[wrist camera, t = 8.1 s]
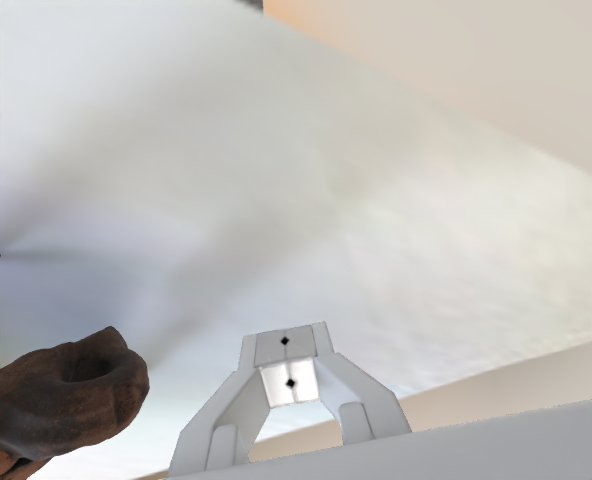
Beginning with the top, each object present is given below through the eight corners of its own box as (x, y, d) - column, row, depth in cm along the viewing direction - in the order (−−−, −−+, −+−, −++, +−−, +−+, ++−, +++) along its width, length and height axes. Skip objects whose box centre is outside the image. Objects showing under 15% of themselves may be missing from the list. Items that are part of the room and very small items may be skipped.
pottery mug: (25, 425, 16) (-319, 591, 8) (26, 262, 17) (-281, 263, 9) (210, 437, 13) (-38, 716, 5) (198, 239, 14) (-27, 209, 6)
